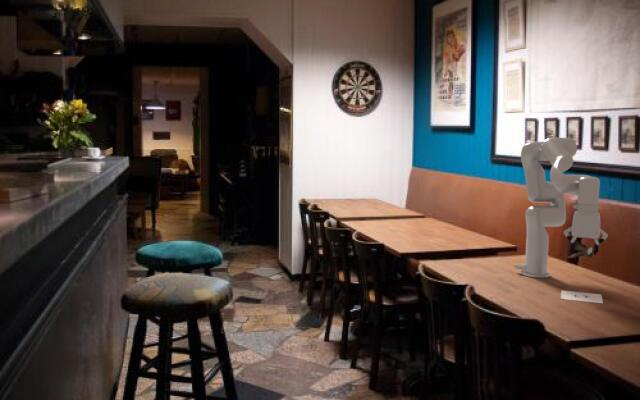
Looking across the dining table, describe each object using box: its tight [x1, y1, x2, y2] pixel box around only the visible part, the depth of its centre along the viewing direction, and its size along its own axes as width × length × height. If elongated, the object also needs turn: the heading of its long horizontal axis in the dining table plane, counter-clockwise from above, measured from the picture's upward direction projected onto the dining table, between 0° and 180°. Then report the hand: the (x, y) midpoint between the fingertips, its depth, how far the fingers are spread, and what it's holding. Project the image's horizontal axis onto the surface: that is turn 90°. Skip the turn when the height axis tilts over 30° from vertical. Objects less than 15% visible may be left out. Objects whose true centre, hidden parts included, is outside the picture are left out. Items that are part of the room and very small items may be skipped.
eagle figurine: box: [567, 240, 594, 260], centre depth 248 cm, size 8×7×9 cm
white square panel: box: [560, 289, 604, 304], centre depth 249 cm, size 15×14×1 cm
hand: (584, 253), depth 247 cm, fingers closed on eagle figurine, 7 cm apart
